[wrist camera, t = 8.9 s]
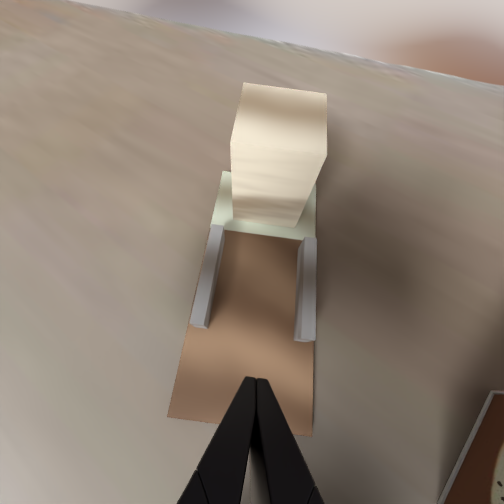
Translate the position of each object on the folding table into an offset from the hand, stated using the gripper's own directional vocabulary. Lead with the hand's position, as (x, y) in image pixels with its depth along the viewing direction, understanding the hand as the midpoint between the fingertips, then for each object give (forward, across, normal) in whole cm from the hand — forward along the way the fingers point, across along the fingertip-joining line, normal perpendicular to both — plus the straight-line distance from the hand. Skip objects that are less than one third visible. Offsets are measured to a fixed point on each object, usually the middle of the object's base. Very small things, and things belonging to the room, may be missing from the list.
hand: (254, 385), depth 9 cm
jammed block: (+18, 0, -5) cm, 19 cm away
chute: (+13, 0, +2) cm, 13 cm away
